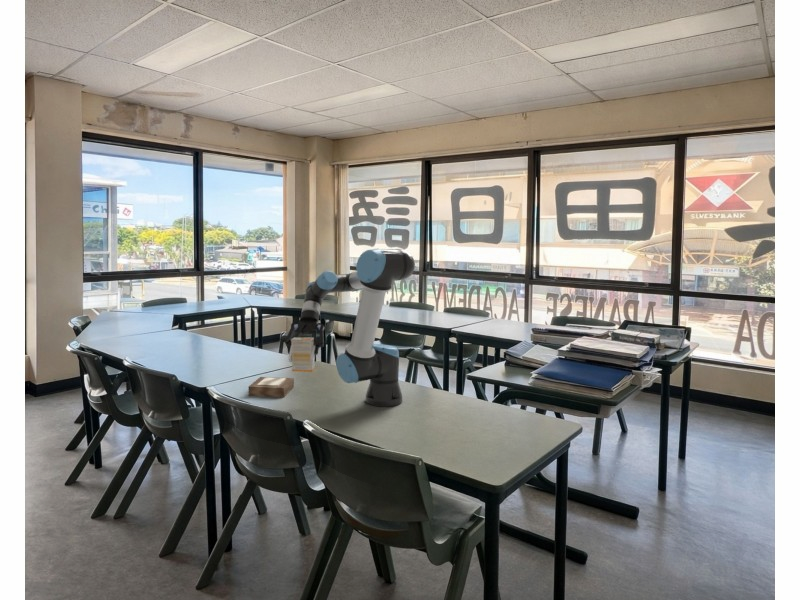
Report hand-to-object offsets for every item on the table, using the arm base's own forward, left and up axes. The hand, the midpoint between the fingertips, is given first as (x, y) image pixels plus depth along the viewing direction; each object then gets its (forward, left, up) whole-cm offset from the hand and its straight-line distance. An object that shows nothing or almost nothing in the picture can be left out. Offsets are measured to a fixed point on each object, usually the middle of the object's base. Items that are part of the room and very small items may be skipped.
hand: (301, 360), depth 209 cm
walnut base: (+17, -16, -18) cm, 30 cm away
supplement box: (0, -3, -5) cm, 6 cm away
